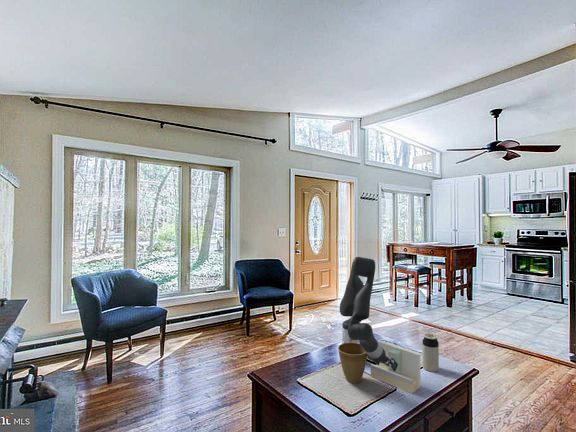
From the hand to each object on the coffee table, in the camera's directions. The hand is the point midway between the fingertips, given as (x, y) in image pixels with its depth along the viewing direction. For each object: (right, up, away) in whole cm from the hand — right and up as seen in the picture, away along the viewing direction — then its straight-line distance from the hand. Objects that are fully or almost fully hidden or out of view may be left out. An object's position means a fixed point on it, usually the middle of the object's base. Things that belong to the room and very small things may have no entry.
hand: (386, 366), depth 151 cm
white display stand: (+6, -10, +6) cm, 13 cm away
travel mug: (+30, -10, +18) cm, 36 cm away
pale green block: (+6, -6, +6) cm, 10 cm away
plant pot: (-15, -11, +8) cm, 20 cm away
